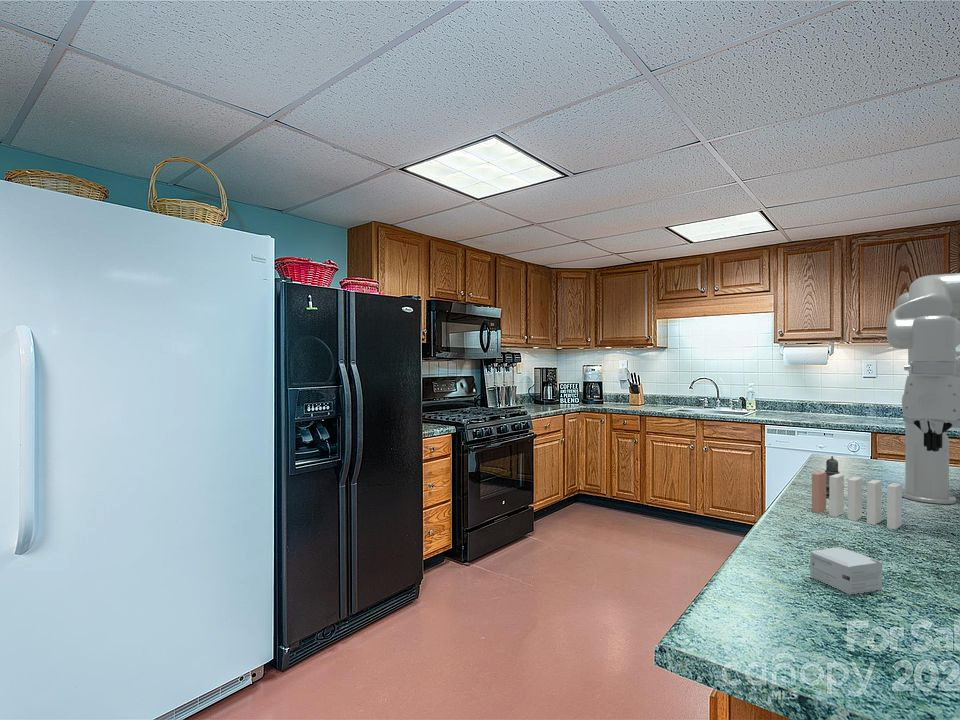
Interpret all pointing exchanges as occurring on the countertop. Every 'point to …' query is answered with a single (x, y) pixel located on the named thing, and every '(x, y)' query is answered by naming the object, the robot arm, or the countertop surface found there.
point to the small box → (846, 570)
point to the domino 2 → (854, 498)
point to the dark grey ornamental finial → (830, 471)
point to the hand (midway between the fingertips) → (932, 450)
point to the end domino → (818, 491)
